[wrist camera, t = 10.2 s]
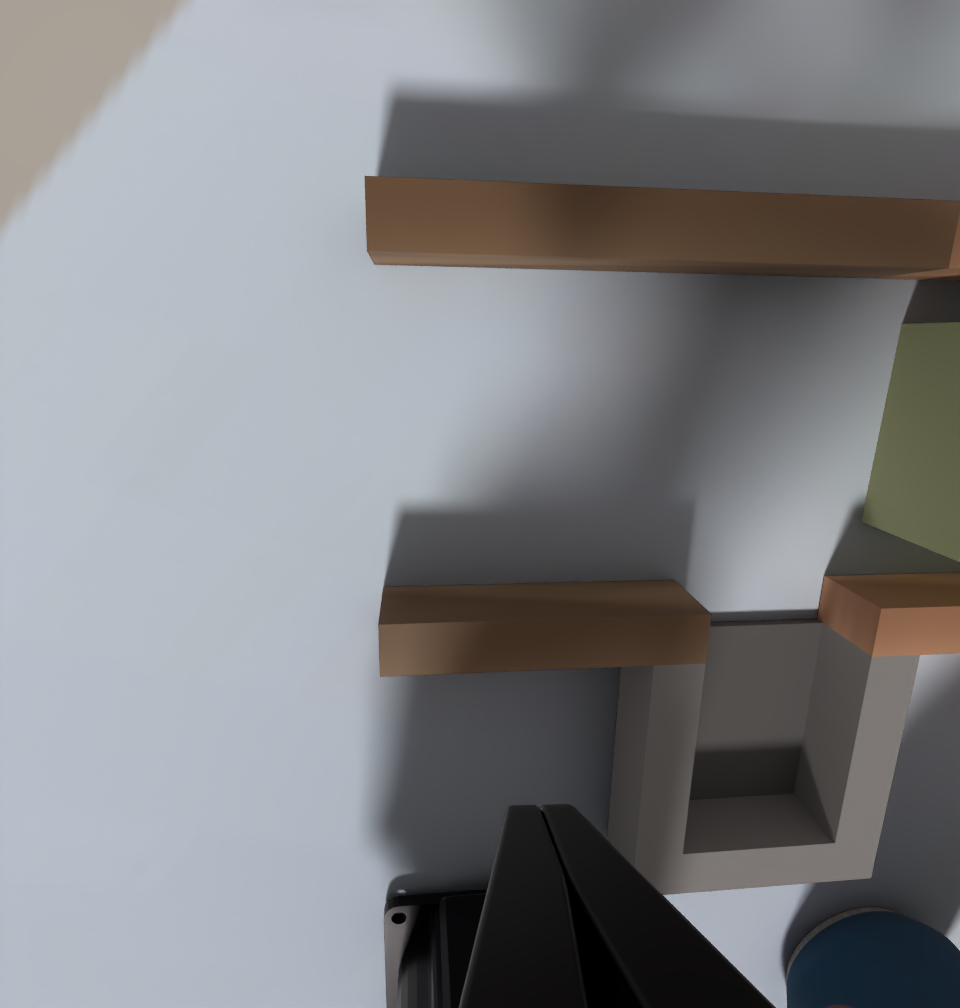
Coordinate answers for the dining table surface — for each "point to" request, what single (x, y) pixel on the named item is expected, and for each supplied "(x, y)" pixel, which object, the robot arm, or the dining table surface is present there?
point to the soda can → (873, 964)
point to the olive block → (920, 442)
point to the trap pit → (757, 759)
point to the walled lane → (648, 248)
